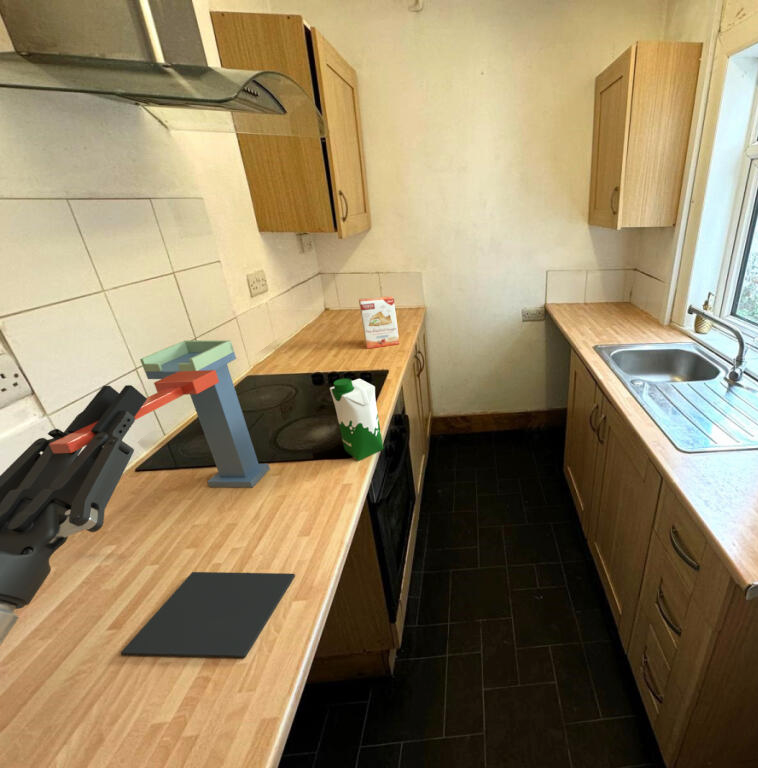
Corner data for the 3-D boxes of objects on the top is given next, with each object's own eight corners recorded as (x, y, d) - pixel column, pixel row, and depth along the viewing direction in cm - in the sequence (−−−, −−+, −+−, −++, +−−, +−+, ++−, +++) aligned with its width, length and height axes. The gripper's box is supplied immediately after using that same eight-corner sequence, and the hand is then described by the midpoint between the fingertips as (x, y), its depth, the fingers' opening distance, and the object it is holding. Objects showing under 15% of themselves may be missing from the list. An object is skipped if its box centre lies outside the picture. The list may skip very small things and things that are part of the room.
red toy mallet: (36, 454, 44) (28, 437, 43) (183, 383, 63) (179, 371, 63) (88, 452, 44) (80, 436, 43) (219, 382, 63) (215, 369, 62)
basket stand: (196, 499, 90) (139, 359, 77) (229, 468, 100) (184, 340, 87) (241, 499, 90) (192, 358, 76) (270, 469, 100) (230, 340, 87)
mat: (121, 655, 59) (119, 652, 59) (193, 574, 72) (192, 571, 72) (245, 658, 58) (243, 655, 58) (295, 576, 71) (294, 573, 71)
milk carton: (339, 451, 107) (324, 379, 98) (371, 437, 113) (359, 369, 104) (356, 464, 101) (341, 390, 93) (389, 449, 107) (377, 378, 99)
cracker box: (367, 349, 179) (359, 301, 171) (365, 345, 184) (357, 298, 176) (400, 344, 184) (394, 297, 176) (397, 340, 189) (391, 295, 181)
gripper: (-70, 613, 39) (90, 410, 54) (86, 612, 39) (204, 409, 54) (-173, 594, 33) (38, 373, 48) (9, 593, 33) (165, 371, 48)
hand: (125, 392), depth 51 cm, fingers closed on red toy mallet, 2 cm apart
